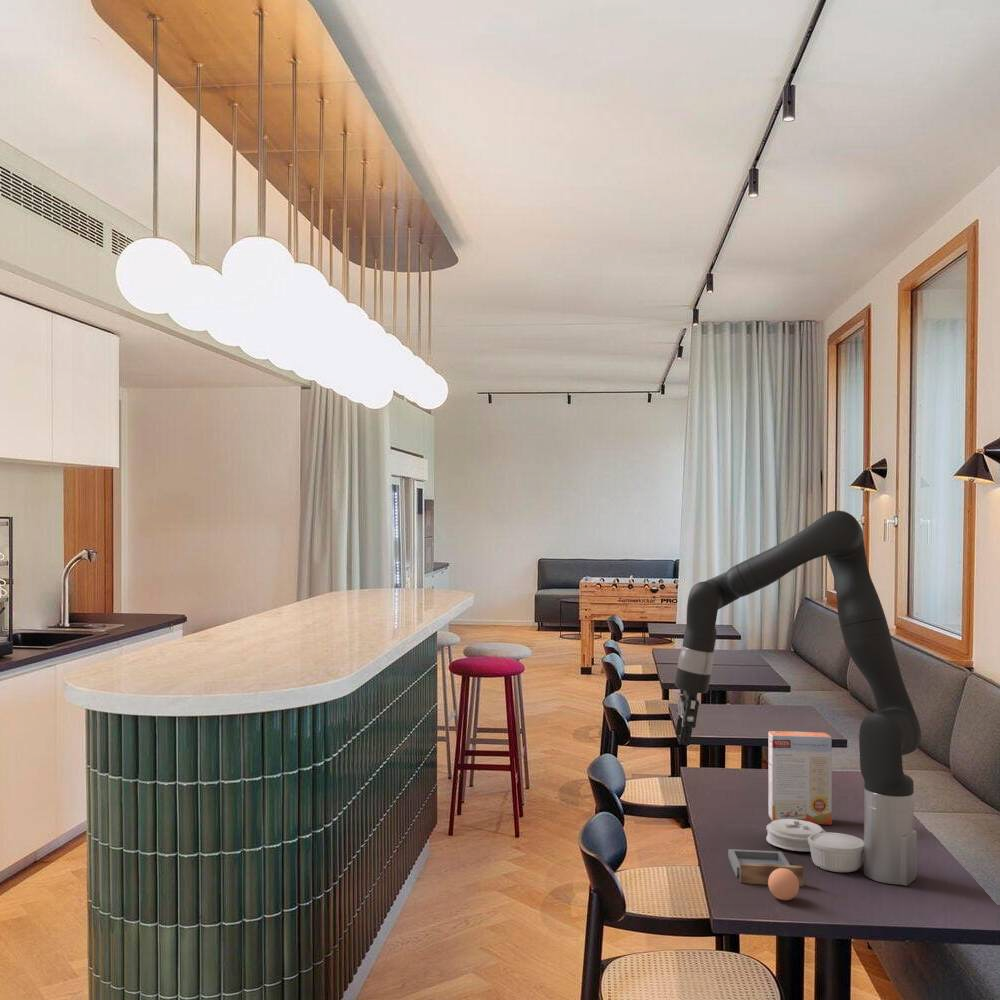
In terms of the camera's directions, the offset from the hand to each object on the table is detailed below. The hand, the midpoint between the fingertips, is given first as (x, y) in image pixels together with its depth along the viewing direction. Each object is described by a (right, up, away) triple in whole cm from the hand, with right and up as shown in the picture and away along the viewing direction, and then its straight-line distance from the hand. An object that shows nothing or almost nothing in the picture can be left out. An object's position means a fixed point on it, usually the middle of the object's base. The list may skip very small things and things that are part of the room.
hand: (681, 739), depth 215 cm
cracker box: (+31, -23, +15) cm, 41 cm away
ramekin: (+29, -22, -17) cm, 40 cm away
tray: (+12, -22, -19) cm, 32 cm away
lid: (+25, -23, -4) cm, 34 cm away
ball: (+12, -18, -35) cm, 42 cm away
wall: (+12, -21, -27) cm, 37 cm away
